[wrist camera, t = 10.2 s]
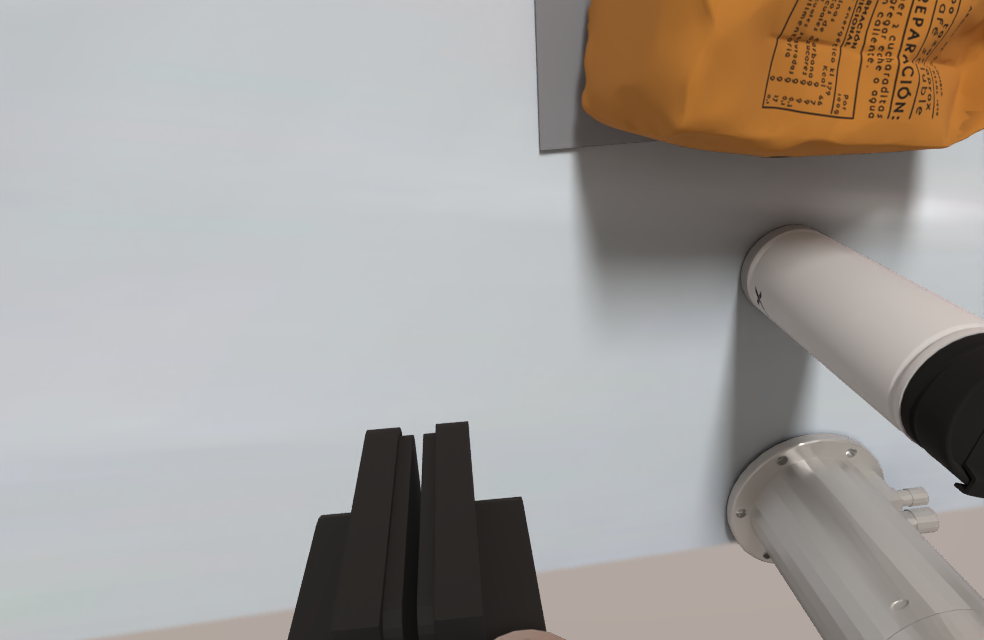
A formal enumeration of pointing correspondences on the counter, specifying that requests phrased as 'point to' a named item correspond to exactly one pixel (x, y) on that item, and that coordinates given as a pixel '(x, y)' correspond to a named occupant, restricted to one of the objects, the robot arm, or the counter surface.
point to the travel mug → (880, 340)
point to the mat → (567, 79)
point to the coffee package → (788, 73)
